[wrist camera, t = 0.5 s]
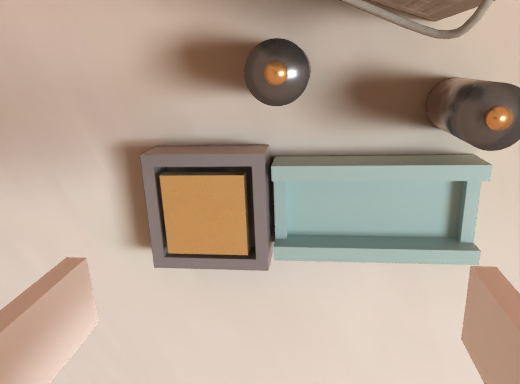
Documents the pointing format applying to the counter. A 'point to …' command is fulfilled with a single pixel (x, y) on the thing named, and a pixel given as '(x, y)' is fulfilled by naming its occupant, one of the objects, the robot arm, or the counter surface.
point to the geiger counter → (427, 13)
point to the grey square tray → (212, 160)
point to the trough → (378, 208)
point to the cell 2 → (477, 111)
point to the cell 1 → (277, 72)
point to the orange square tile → (205, 212)
